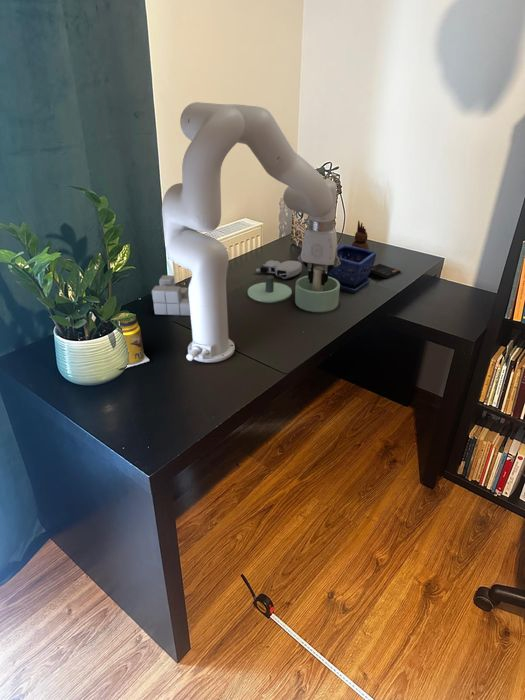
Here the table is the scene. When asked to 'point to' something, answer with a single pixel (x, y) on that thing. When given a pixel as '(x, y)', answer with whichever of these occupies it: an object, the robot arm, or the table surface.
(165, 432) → the table surface
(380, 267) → the calculator
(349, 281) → the flower pot
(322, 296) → the bowl
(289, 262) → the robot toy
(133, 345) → the condiment
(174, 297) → the puzzle cube
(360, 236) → the wooden figurine
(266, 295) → the lid
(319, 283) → the beige flanged cylinder
